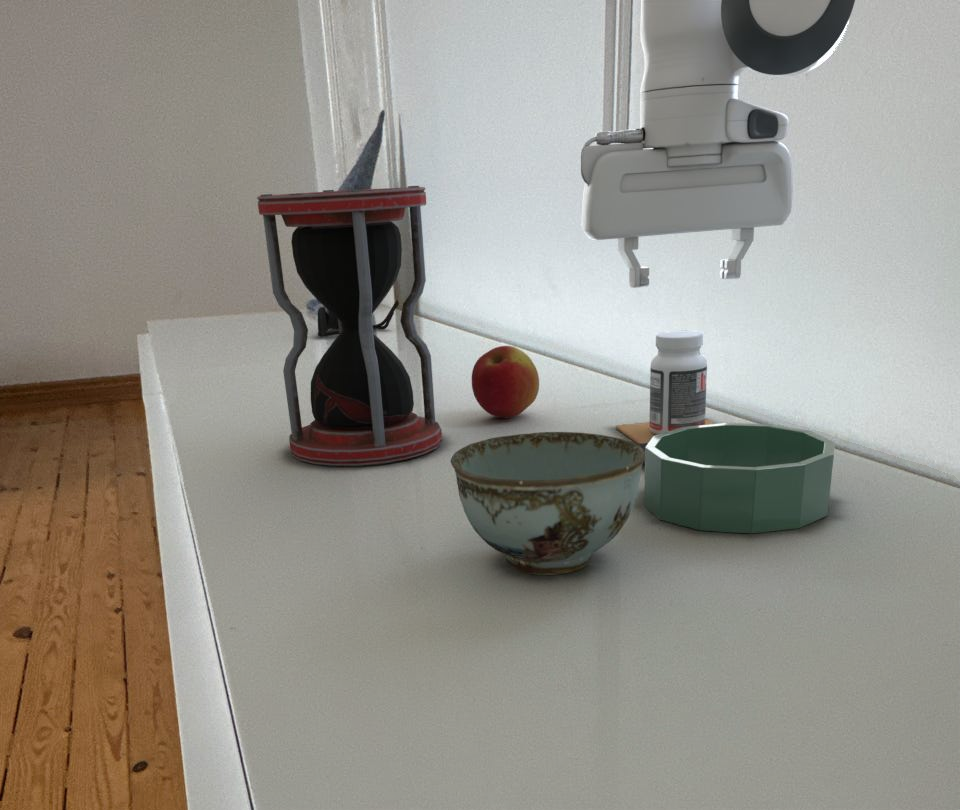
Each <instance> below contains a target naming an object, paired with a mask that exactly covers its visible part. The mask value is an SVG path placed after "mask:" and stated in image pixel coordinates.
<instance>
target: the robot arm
mask: <svg viewBox="0 0 960 810" xmlns="http://www.w3.org/2000/svg"><path fill="white" fill-rule="evenodd" d="M855 3H856V0H640V4H641V5H640V44H641V46H642V51H643V57H644V70H643V76H642V80H641V84H640V89H639V90H640V91H639V93H640V97H639V98H640V99H639V103H640V104H639V122H640V123H639V128H631V129H623V130H618V131H617V130H615V131H610V130H603V131H597V132H596V133H595V135H594V136H593V137H590V138H589V139H587V141H586V142H585V143H584V144H583V146H582V148H581V151H580V157H579V160H580V175H581V179H582V180H583V182H584V185H583V193H582V204H581V221H580V223H581V230H582V232H583V233H584V235H586V237H587V238H588V239H590V240H592V241H593V240H594V241H604V240H615V239H617V251H618V252H619V254H620V256H621V258H622V260H623V261H624V263H625V264H626V267H627V268H628V283H629V287H630V288H633V289H635V288H636V289H637V288H644V287H649V286H650V279H649V276H650V267H649V266H641V264H640V262H639V260H638V258H637V257H636V254H635V253H634V251H636V250H639V239H640V237H641V238H642V237H653V236H654V237H655V236H665V235H676V234H677V235H678V234H691V233H702V232H715V231H727V230H731V238H730V239H731V240H732V241H735V243H734V245H733V247H732V248H731V251H730V252H729V254H728V257H727V258H724V259H720V260H719V268H720V271H719V278H720V280H735V279H737V280H738V279H740V278H741V275H742V260H743V259H744V258H745V256H746V254H747V252H748V251H749V249H750V247H751V246H752V243H754V237H755V236H754V234H755V228H762V227H763V228H765V227H776V226H782V225H783V224H785V222H786V221H787V220H788V218H789V216H790V215H791V213H792V209H793V208H792V207H793V163H792V157H791V153H790V151H789V149H788V148H787V146H786V145H785V144H783V143H782V142H780V141H781V140H784V139H785V138H786V137H787V135H788V132H789V118H788V116H787V115H786V114H784V113H783V112H780V111H776V110H774V109H770V108H766V107H764V106H760V105H757V104H754V103H751V102H748V101H745V100H743V99H740V98H739V81H740V76H741V74H742V73H743V72H745V71H755V72H758V73H761V74H764V75H769V76H776V77H784V78H785V77H795V76H800V75H803V74H806V73H808V72H810V71H812V70H814V69H815V68H817V67H819V66H820V65H821V64H823V63H824V62H825V61H826V60H827V59H828V58H830V57H831V55H832V54H834V52H835V50H836V49H837V48H838V47H837V46H839V45H840V44H839V43H841V42H842V40H843V38H844V36H845V34H846V32H847V29H848V27H847V25H848V26H849V24H850V19H851V16H852V12H853V10H854V6H855ZM849 18H850V19H849ZM846 28H847V29H846ZM845 31H846V32H845ZM844 33H845V34H844ZM843 35H844V36H843ZM842 37H843V38H842ZM841 39H842V40H841ZM840 41H841V42H840ZM838 44H839V45H838ZM836 47H837V48H836ZM835 48H836V49H835ZM833 51H834V52H833ZM593 143H595V145H592V144H593Z"/></svg>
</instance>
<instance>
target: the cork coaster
mask: <svg viewBox="0 0 960 810" xmlns="http://www.w3.org/2000/svg"><path fill="white" fill-rule="evenodd" d="M710 424H715V423H714V422H712V421H711V420H709V419H708V418H707V419H706V418H705V425H710ZM615 429H616V430H618V431H619V432H620V433H622V434H623V435H625V436H626V437H628V438H629V439H630V440H632V442H633V441H634V443H635V444H642V443H649V442H650V440H651V439H652V438H653V436H655V435H656V434H654V433H653V432H651V430H650V425H649V422H639V423H630V424H618V425H615Z"/></svg>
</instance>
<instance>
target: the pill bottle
mask: <svg viewBox="0 0 960 810" xmlns="http://www.w3.org/2000/svg"><path fill="white" fill-rule="evenodd" d="M703 345H704V333H703V332H702V331H699V330H689V329H688V330H686V329H685V330H683V329H682V330H681V329H680V330H676V329H675V330H666V331H660V332H658V333H656V334H655V347H656V349H657V355H655V356H654V357H653V358H652V360H651V361H650V366H649V367H650V368H649V369H650V370H649V373H650V374H649V421H648V423H649V425H650V430H651V432H653V433H654V434H656V435H658V434H661V433H665V432H668V431H672V430H675V429H678V428H682V427H689V426H700V425H705V419H706V408H707V407H706V406H707V405H706V403H707V380H708V378H707V376H708V361H707V359H706V357H705V355H703V354H701V348H702V346H703Z"/></svg>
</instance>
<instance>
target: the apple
mask: <svg viewBox="0 0 960 810" xmlns="http://www.w3.org/2000/svg"><path fill="white" fill-rule="evenodd" d="M471 389H472V393H473V397H474V398H475V401H476V402H477V404H478V405H479V406H480V407H481V408H482V409H483V410H484V411H485V413H487V414H489V415H491V416H492V417H496V418H499V419H509V418H512V417H516V416H518V415H520V414H521V413H523V412H524V411H526V410H527V408H529V407H530V406H531V405H532V404H533V403H534V402H535V401H536V399H537V397H538V394H539V391H540V376H539V372H538V370H537V367H536V365H535V363H534V362H533V360H532V358H531V357H530V356H529V355H528V354H526V353H525V352H524V351H523V350H521V349H519V348H517V347H515V346H511V345H501V346H497V347H494V348H492V349H489V351H487V352H485V353H483V354H482V355H480V357H478V359H477V360H476V361H475V364H474V366H473V368H472V372H471Z"/></svg>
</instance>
